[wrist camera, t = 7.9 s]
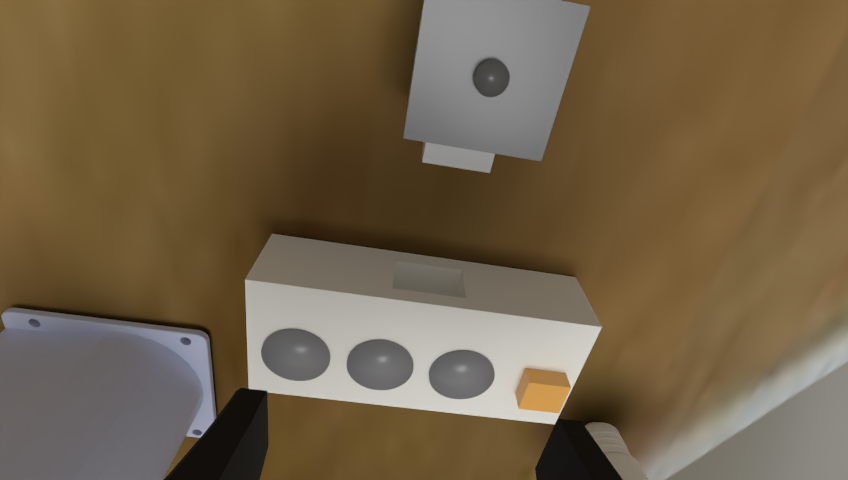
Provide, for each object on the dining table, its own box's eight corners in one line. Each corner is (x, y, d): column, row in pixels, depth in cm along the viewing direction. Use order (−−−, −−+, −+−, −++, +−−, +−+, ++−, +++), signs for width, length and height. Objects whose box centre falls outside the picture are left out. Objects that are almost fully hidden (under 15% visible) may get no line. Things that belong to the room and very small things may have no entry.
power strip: (271, 335, 23) (242, 405, 19) (271, 233, 20) (237, 292, 16) (538, 368, 24) (559, 439, 20) (575, 277, 21) (609, 341, 17)
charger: (401, 136, 18) (395, 191, 13) (426, -25, 15) (428, -27, 10) (500, 153, 18) (528, 212, 13) (542, -1, 15) (594, 6, 11)
